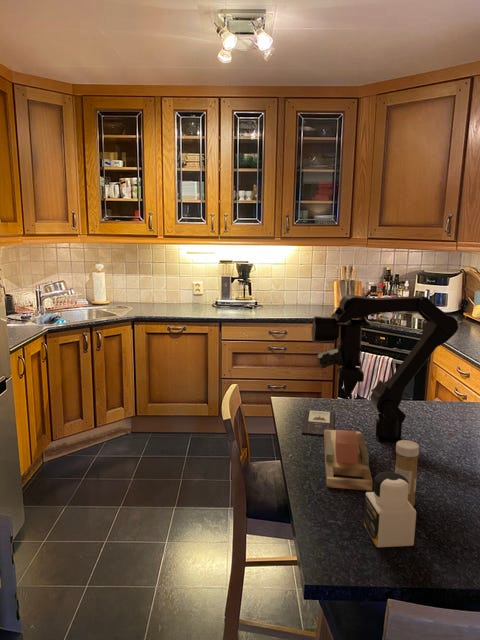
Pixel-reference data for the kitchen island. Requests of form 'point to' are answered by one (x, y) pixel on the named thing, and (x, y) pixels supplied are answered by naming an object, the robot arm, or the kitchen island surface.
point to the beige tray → (346, 465)
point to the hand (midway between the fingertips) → (347, 396)
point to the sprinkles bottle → (407, 465)
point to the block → (346, 447)
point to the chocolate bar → (317, 422)
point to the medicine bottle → (390, 511)
